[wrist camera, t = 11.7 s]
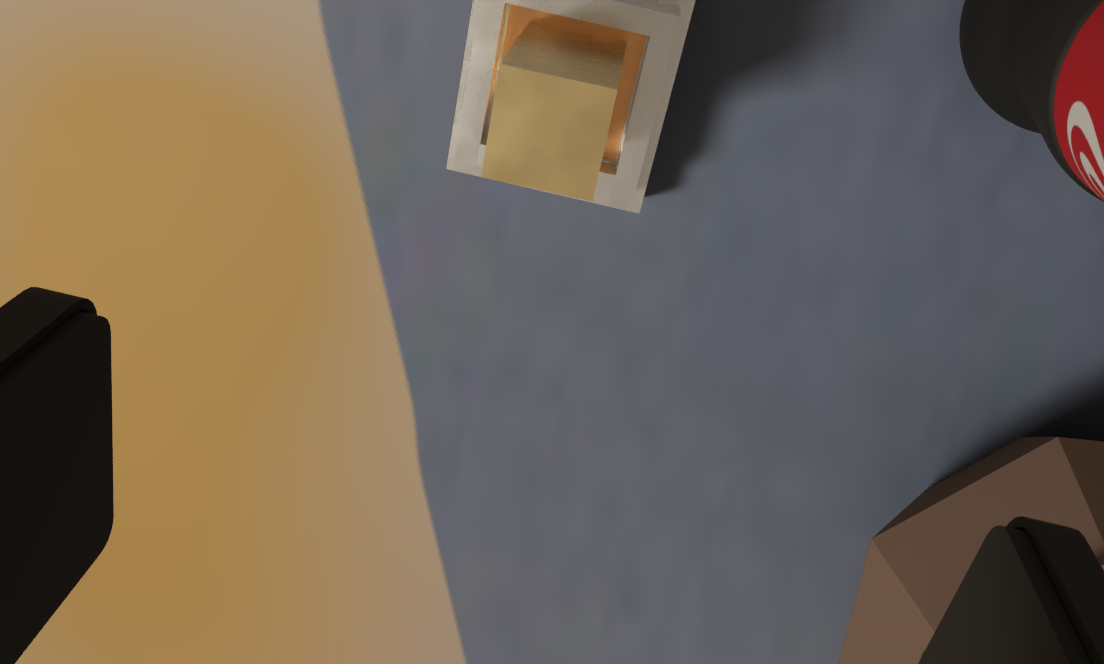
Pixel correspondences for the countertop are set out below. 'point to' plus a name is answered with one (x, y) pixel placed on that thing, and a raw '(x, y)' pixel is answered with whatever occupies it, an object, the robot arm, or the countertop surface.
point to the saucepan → (966, 538)
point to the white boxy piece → (642, 97)
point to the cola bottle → (1043, 74)
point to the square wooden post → (553, 111)
